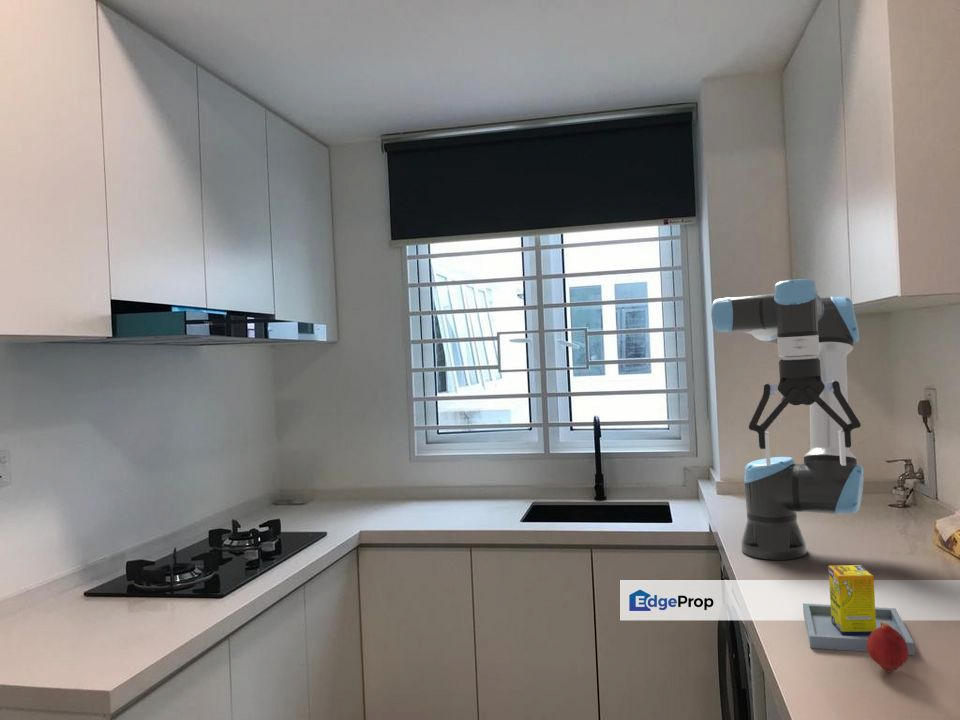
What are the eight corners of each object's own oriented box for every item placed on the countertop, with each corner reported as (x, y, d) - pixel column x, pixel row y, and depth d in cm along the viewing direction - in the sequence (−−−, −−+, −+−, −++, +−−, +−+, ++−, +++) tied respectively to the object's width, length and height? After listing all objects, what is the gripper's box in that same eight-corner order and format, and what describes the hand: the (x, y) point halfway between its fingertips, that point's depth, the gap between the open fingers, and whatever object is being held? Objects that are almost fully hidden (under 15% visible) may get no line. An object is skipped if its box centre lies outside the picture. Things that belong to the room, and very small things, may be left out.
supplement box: (830, 623, 137) (827, 565, 136) (865, 623, 136) (861, 564, 136) (841, 636, 131) (838, 575, 131) (877, 636, 130) (874, 574, 130)
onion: (895, 662, 121) (893, 613, 121) (917, 677, 115) (914, 627, 115) (861, 664, 121) (858, 616, 121) (881, 680, 115) (878, 630, 115)
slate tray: (803, 614, 143) (802, 603, 143) (896, 619, 138) (895, 608, 138) (810, 647, 128) (809, 635, 128) (914, 655, 123) (914, 642, 123)
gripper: (732, 362, 146) (738, 468, 147) (872, 354, 138) (879, 467, 138) (732, 360, 153) (738, 461, 154) (866, 353, 145) (872, 460, 145)
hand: (805, 464), depth 146 cm, fingers open, 13 cm apart
